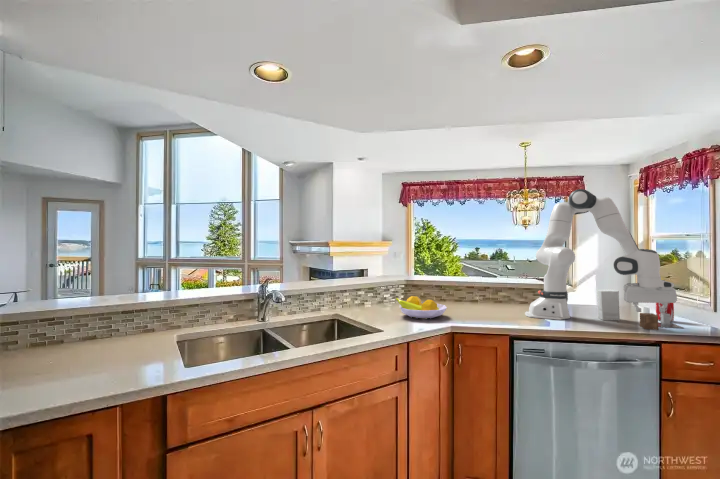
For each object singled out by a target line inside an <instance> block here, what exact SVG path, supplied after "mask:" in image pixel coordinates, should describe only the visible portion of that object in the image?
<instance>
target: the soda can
mask: <svg viewBox="0 0 720 479" xmlns="http://www.w3.org/2000/svg"><path fill="white" fill-rule="evenodd" d="M674 304H675V303H668V305H667V307H666V308H665V312H660V311H659V308H661V307H662V306H663V304H662V303H655V315H658V322H661V313H668V314H670V323H672V322H673V321H674V319H675V309H674V308H675V305H674Z"/></svg>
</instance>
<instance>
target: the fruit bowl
mask: <svg viewBox="0 0 720 479" xmlns="http://www.w3.org/2000/svg"><path fill="white" fill-rule="evenodd" d="M395 300H396V301H397V302H398V304H399V309H400V311H401V313H402V314H403V315H406V316H408V317H409V318H412V317H416V318H415V319H418V318H430V319H433V318H436V317H440V316H442V315H443V314H444V313H445V312H446V311H447V309H448V308H447V306H446V305H445V304H440V303H437V302H436V301H434V300H432V299H429V298H428V299H426V300H425V301H423V302H422V299H421V298H420V297H419V296H417V295H415V296H414V295H411V296H410V297H408V298H407V299H406V301H405V300H401V299H399V298H398V297H396V298H395Z"/></svg>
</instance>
